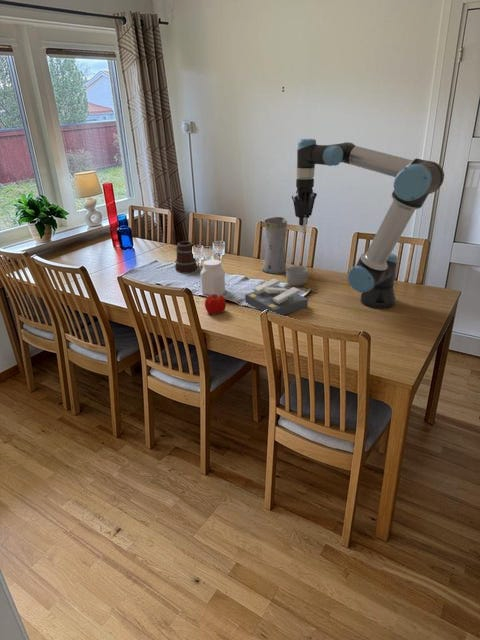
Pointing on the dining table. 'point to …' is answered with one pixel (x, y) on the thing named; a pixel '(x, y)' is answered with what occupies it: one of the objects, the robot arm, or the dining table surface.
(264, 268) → the vase
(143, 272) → the dining table surface
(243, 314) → the dining table surface
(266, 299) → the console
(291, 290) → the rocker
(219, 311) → the tomato
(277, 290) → the rocker
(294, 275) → the teacup
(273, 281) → the rocker
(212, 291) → the jar
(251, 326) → the dining table surface
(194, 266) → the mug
